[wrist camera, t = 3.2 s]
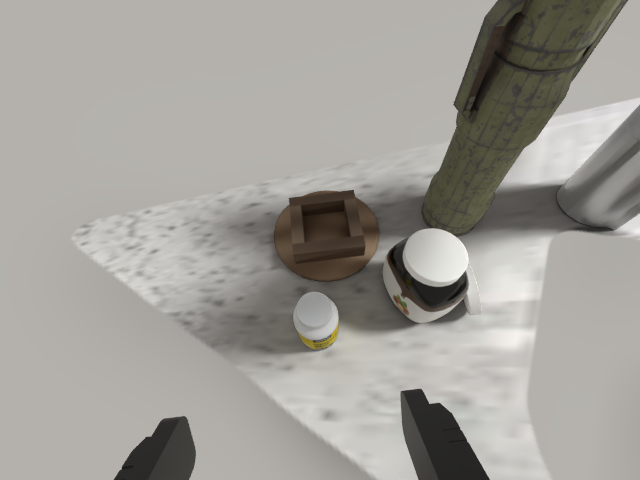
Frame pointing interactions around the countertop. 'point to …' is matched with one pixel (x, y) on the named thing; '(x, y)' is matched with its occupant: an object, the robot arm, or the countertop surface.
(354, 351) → the countertop surface
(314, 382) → the countertop surface
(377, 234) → the holder
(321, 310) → the supplement bottle
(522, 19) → the thermos
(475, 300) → the spread jar
